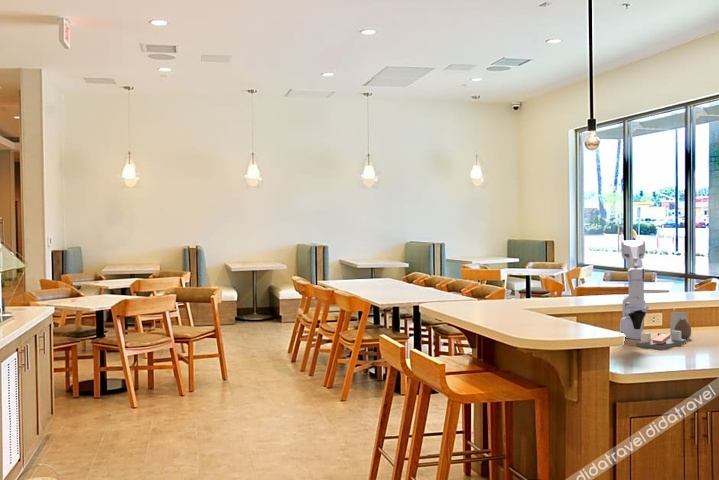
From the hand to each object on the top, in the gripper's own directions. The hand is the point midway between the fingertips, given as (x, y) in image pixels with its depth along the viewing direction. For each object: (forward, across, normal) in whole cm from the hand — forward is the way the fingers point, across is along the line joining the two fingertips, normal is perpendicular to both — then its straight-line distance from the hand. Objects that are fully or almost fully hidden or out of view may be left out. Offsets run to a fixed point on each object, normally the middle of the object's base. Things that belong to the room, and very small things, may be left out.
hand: (637, 329), depth 294 cm
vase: (+8, +32, -2) cm, 33 cm away
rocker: (+5, +8, -6) cm, 11 cm away
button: (+6, +21, +1) cm, 22 cm away
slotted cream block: (+6, +6, 0) cm, 9 cm away
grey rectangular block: (+8, +42, +5) cm, 43 cm away
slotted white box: (+6, +19, -6) cm, 21 cm away
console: (+8, +13, -3) cm, 16 cm away
